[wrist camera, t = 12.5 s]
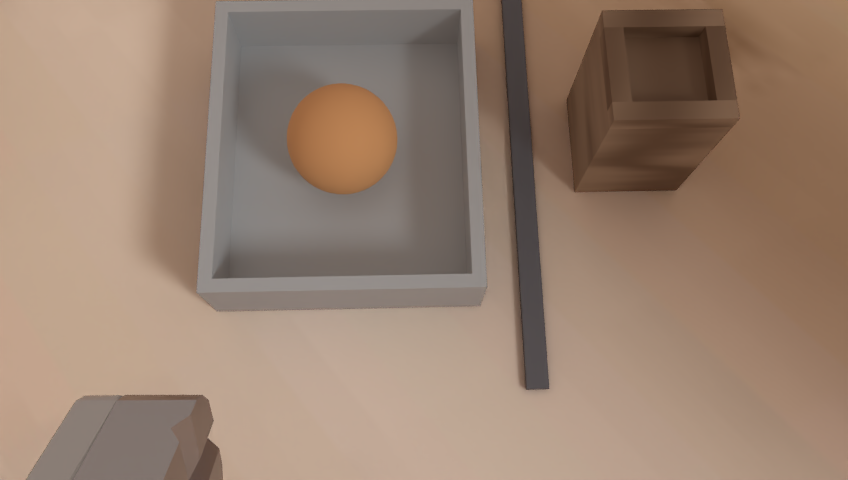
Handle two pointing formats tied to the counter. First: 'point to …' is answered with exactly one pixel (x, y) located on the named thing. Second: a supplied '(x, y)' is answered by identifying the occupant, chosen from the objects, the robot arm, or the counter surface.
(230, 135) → the tray
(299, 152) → the ball
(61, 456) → the robot arm
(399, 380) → the counter surface
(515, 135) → the line
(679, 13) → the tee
